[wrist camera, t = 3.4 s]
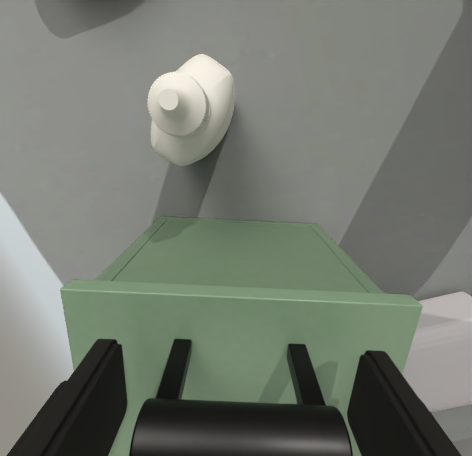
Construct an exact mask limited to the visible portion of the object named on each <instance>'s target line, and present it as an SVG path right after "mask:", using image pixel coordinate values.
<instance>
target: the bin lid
mask: <svg viewBox="0 0 472 456" xmlns="http://www.w3.org/2000/svg"><path fill="white" fill-rule="evenodd" d="M60 291H61V297H62V303H63V309H64V315H65V321H66V325H67V332H68V338H69V344H70V350H71V356H72V362H73V368H74V371H75V370H76V368H77V367H78V365H79V364H80V363H81V361H82V360H83V358H84V357H85V355H86V354H87V353H88V351H89V350H90V348H91V347H92V346H93V344H94V343H95V342H96V340H97V339H116V340H117V343H118V344H121V345H122V350H123V361H124V371H125V381H126V392H127V410H126V414H125V416H124V419H123V421H122V424H121V426H120V428H119V431H118V433H117V436H116V438H115V441H114V443H113V445H112V448H111V450H110V453H109V455H108V456H361V453H360V451H359V448H358V446H357V443H356V441H355V438H354V436H353V433H352V431H351V428H350V426H349V423H348V418H347V410H348V406H349V401H350V397H351V393H352V389H353V384H354V380H355V376H356V371H357V367H358V363H359V359H360V356H361V355H364V354H365V352H366V351H367V350H372V351H384V352H386V353H387V354H388V355H389V357H390V358H391V360H392V361H393V362H394V364H395V365H396V367H397V368H398V369H399V371H400V372H401V374H403V371H404V367H405V364H406V361H407V357H408V354H409V351H410V347H411V344H412V341H413V337H414V334H415V331H416V328H417V324H418V321H419V318H420V314H421V311H422V308H423V306H422V305H421V304H420V303H419V302H418V301H417V300H416V299H415V298H413V297H412V296H411V295H401V294H379V293H358V292H336V291H315V290H293V289H272V288H250V287H228V286H207V285H185V284H164V283H142V282H121V281H99V280H77V279H73V280H71V281H70V282H68V283H67V284H66V285H65V286H63V287H62V288H61V290H60Z"/></svg>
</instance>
